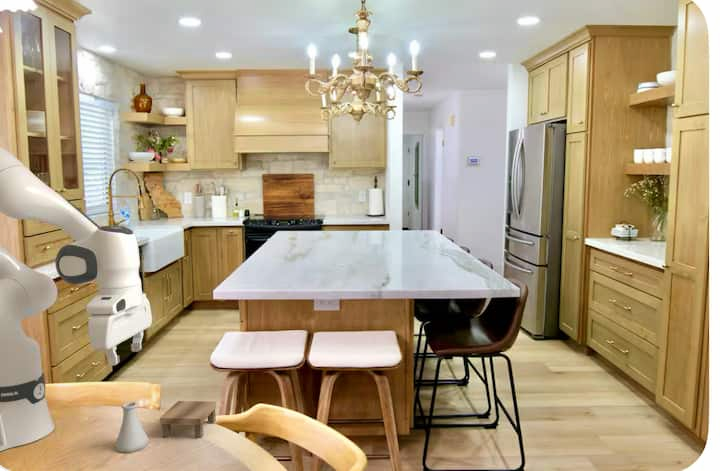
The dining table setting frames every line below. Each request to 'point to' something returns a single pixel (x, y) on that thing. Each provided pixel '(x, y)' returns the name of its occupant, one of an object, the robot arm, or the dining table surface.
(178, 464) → the dining table surface
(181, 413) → the walnut stand
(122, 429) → the flask
